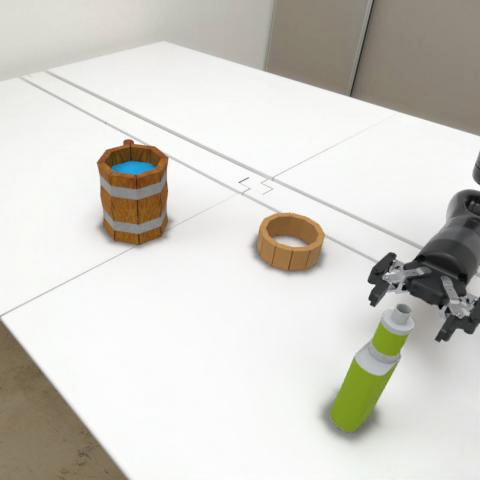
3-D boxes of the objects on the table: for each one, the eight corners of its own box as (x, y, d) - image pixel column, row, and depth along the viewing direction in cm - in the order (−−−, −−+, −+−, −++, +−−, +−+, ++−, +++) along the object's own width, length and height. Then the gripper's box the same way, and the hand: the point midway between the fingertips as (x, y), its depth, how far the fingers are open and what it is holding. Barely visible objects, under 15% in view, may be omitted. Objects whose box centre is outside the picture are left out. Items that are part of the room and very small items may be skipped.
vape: (375, 410, 62) (430, 310, 49) (349, 437, 59) (400, 337, 46) (351, 391, 64) (397, 290, 51) (325, 416, 61) (367, 315, 49)
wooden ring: (324, 241, 90) (329, 222, 87) (311, 278, 82) (317, 258, 79) (266, 226, 94) (270, 206, 91) (249, 259, 86) (252, 239, 83)
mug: (173, 241, 90) (174, 175, 80) (104, 247, 89) (97, 181, 79) (159, 188, 105) (159, 127, 96) (100, 193, 104) (94, 132, 94)
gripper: (409, 220, 70) (361, 271, 61) (515, 263, 62) (477, 330, 53) (393, 256, 75) (346, 309, 66) (489, 301, 67) (451, 368, 58)
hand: (405, 319), depth 59 cm, fingers open, 8 cm apart
